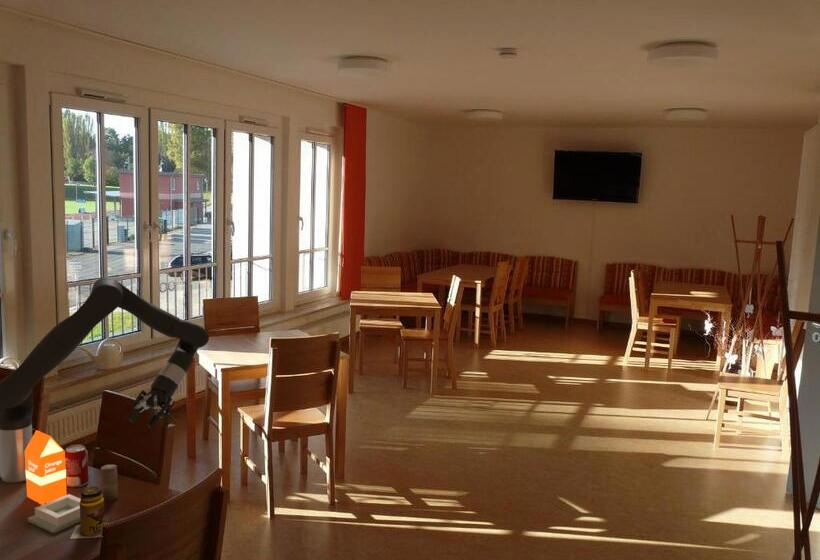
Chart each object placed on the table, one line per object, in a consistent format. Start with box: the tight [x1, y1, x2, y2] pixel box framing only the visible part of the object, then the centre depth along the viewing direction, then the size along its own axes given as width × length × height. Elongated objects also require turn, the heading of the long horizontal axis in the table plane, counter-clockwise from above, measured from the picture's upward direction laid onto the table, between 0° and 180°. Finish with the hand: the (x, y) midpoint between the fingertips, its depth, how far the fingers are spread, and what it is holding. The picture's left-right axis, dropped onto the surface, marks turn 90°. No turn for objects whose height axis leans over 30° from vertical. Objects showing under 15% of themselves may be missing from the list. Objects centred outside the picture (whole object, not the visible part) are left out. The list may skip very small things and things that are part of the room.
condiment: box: [69, 486, 108, 540], centre depth 192 cm, size 7×8×12 cm
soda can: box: [65, 444, 90, 489], centre depth 220 cm, size 7×7×12 cm
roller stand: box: [27, 493, 81, 534], centre depth 200 cm, size 12×14×4 cm
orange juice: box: [24, 429, 68, 506], centre depth 211 cm, size 8×9×20 cm
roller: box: [100, 464, 119, 502], centre depth 212 cm, size 4×4×10 cm
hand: (140, 424), depth 220 cm, fingers open, 8 cm apart
